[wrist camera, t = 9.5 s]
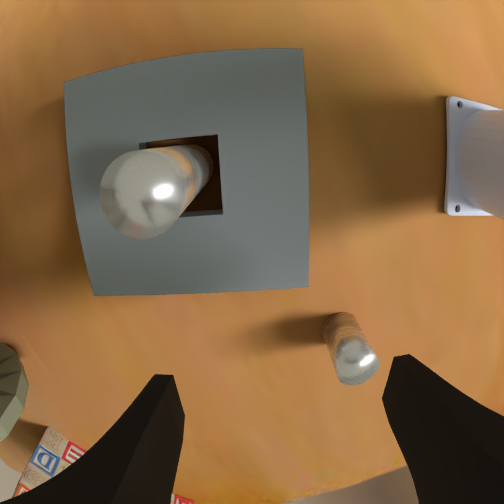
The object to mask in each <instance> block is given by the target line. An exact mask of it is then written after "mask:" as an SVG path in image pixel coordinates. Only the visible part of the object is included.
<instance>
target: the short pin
mask: <svg viewBox="0 0 504 504" xmlns="http://www.w3.org/2000/svg"><path fill="white" fill-rule="evenodd" d="M322 335H323V338H324V340H325V343H326V346H327V348H328V351H329V354H330V357H331V359H332V362H333V365H334V368H335V370H336V373H337V376H338V379H339V380H340V382H342V383H343V384H346V385H358V384H361V383H364V382H366V381H367V380H369V379H370V378H371V377H372V376H373V375H374V374H375V373H376V371H377V370H378V367H379V360H378V358H377V356H376V354H375V352H374V350H373V349H372V347H371V345H370V343H369V341H368V340H367V338H366V336H365V334H364V332H363V331H362V329H361V327H360V325H359V323H358V322H357V320H356V318H355V317H354V316H353V315H352V314H350V313H345V312H341V313H337V314H334V315H332V316H331V317H329V318H328V319H327V320H326V321H325V323H324V325H323V327H322Z"/></svg>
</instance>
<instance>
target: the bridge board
mask: <svg viewBox="0 0 504 504" xmlns="http://www.w3.org/2000/svg"><path fill="white" fill-rule="evenodd" d="M64 105H65V128H66V142H67V154H68V164H69V172H70V181H71V188H72V195H73V202H74V208H75V214H76V220H77V225H78V230H79V235H80V240H81V245H82V250H83V254H84V259H85V263H86V267H87V271H88V275H89V279H90V283H91V287H92V291H93V295H94V296H124V295H166V294H195V293H218V292H239V291H257V290H274V289H289V288H304V287H308V276H309V165H308V133H307V110H306V92H305V76H304V62H303V49H292V48H263V49H237V50H223V51H211V52H201V53H193V54H185V55H178V56H171V57H165V58H159V59H153V60H148V61H143V62H138V63H133V64H128V65H124V66H119V67H115V68H111V69H107V70H103V71H100V72H96V73H92V74H89V75H85V76H82V77H79V78H75V79H72V80H69V81H66V82H64ZM211 135H218V147H219V162H220V177H221V191H222V205H223V209H218V210H203V211H189V212H183V213H182V214H181V215H180V216H179V217H178V219H177V220H176V221H175V222H174V224H173V225H172V226H171V227H170V228H169V229H168V230H167V231H165V232H164V233H162V234H161V235H158V236H156V237H153V238H148V239H137V238H132V237H129V236H126V235H124V234H122V233H120V232H119V231H118V230H116V229H115V228H114V227H113V226H112V225H111V224H110V223H109V221H108V220H107V218H106V217H105V215H104V213H103V210H102V207H101V203H100V196H99V192H100V184H101V180H102V177H103V175H104V173H105V171H106V169H107V168H108V166H109V165H110V164H111V163H112V162H113V161H114V160H115V159H116V158H118V157H119V156H121V155H123V154H125V153H128V152H131V151H136V150H144V149H146V143H148V142H156V141H163V140H171V139H180V138H189V137H199V136H211Z"/></svg>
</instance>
